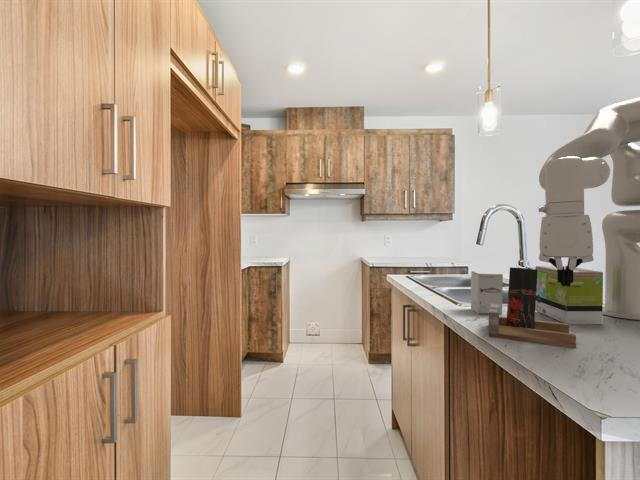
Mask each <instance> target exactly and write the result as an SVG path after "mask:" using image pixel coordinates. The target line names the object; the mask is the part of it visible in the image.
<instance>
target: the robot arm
mask: <svg viewBox="0 0 640 480" xmlns="http://www.w3.org/2000/svg"><path fill="white" fill-rule="evenodd" d="M636 143H640V97H637V98H633V99H629V100H626V101H622V102H618V103H613V104H611V105H608V106H606V107H604V108H602V109H600V110H599V111H597V114H595V116H594V117H593V118H592V120H591V122H590V123H589V125H588V126H587V128H586V129H585V131H584V132H583V134H582V135H580V136H578V137H576V138H574V139H573V140H571V141H569V142H568V143H566V144H564V145H563V146H560V148H559V147H558V149H556V150H555V151H554V152H552V153H551V154H550V155H549V156H548V158H547V159H546V160H545V162H544V164H542V167H541V169H540V172H539V175H538V182H539V186H540V187H541V189H543V190H544V192H545V197H544V199H545V204H544V205H542V206H538V213H543V214H545V216H542V217H541V223H540V231H539V256H538V260H539V261H541V262H544V263H550V264H551V266H555V267H556V268H557V280H558V282H560V283H561V285H562V286H568V287H570V283H573V270H574V269H575V268H578V267H579V266H580V265H582V264H584V263H585V264H586V263H591V262H593V261H594V260H595V258H594V256H593V255H594V240H593V239H594V238H593V230H592V229H593V227H592V222H591V218H590V215H589V214H585V190H587V189H595V188H598V187H601V186H603V185H605V183H607V181H608V180H609V178H610V175H611V168H610V167H611V166H610V165H609V163H608V162H607V161H606V160H605V159H603V158H605V157H607V156H609V155H610V156H609V157H610V158H611V160H612V164H613V165H612V168H613V169H612V179H611V180H612V181H611V202H612V203H613V204H614V205H615V206H618V207H625V208H626V207H630V208H631V207H640V146H639V145H637V144H636ZM601 229H602V234H603V240H604V248H605V268H604V269H605V272H604V273H605V274H604V275H605V277H604V279H605V281H604V282H605V283H604V284H605V285H604V289H605V290H604V306H603V310H602V314H603V315H605V316H608V317H612V318H619V319H626V320H635V321H640V246H639V244H640V209H631V210H629V209H628V210H627V209H626V210H619V211H612V212H610V213H608V214H606V215H605V216H604V218H603V219H602V223H601ZM638 243H639V244H638ZM562 258H567V259H568V260H567V264H566V265H565V266H566V269H565V270H564V267H563V266H564V264H563V260H562Z"/></svg>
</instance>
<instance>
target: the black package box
mask: <svg viewBox="0 0 640 480" xmlns="http://www.w3.org/2000/svg"><path fill="white" fill-rule="evenodd" d="M537 272H538V270H536V269H535V268H533V269H532V268H525V267H509V276H508V277H509V279H508V289H507V291H508V292H507V293H508V294H507V310H506V317H507V322H506V326H513V327H521V328H530V329H534V325H535V320H536V310H535V308H536V290H537Z"/></svg>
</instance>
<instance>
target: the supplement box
mask: <svg viewBox="0 0 640 480" xmlns="http://www.w3.org/2000/svg"><path fill="white" fill-rule="evenodd" d="M503 277H504V274H503V273H500V272H498V271H481V270H475V271H474V270H471V273H470V279H471V281H470V283H471V284H470V285H471V286H470V287H471V288H470V309H471V310H472V311H473V312H475V313H476V314H477V315H478V314H485V315H487V314H488V315H489V309H490V305H491V303H492V304H499V316H500V315H501V316H502V315H503V287H504V286H503V284H504V283H503V279H504V278H503Z"/></svg>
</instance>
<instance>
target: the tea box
mask: <svg viewBox="0 0 640 480" xmlns="http://www.w3.org/2000/svg"><path fill="white" fill-rule="evenodd" d="M566 266H567V265H563V267H564V270H565V269H566ZM534 269H536V270H538V272H537V290H536V308H535V312H537V313H541V314H543V315H545V316H548V317H549V318H551V319H554V320H557V321H558V322H560V323H566V324H569V325H603V315H604V314H602V310H603V307H604V306H603V304H604V303H603V300H604V299H603V298H604V295H603V293H604V292H603V291H604V272H603V271H598V270H591V269H585V268H580V267H576V268H575V269H574V270H573V283H570V287H568V286H562V285H561V283H560V282H558V280H557V268H556V267H555V266H554V265H546V266H545V265H543V266H542V265H541V266H540V265H539V266H537V265H536V266H535V268H534Z"/></svg>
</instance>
